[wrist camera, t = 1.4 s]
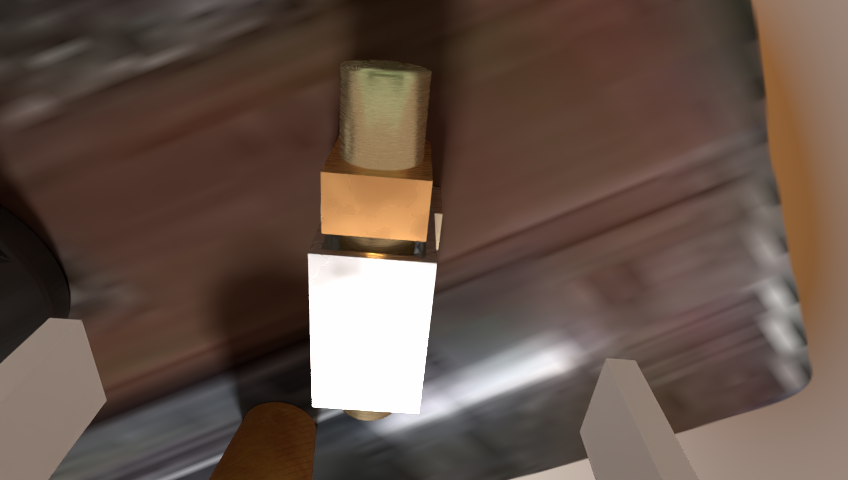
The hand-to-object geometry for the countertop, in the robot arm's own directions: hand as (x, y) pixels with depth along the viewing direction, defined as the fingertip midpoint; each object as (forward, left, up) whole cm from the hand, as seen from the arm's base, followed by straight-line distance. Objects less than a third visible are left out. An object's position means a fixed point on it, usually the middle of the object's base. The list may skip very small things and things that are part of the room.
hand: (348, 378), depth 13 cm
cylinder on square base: (0, -4, -16) cm, 17 cm away
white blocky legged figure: (0, -7, -20) cm, 21 cm away
